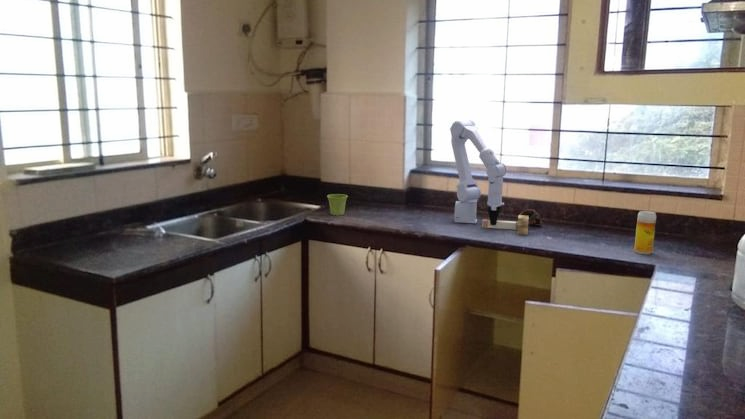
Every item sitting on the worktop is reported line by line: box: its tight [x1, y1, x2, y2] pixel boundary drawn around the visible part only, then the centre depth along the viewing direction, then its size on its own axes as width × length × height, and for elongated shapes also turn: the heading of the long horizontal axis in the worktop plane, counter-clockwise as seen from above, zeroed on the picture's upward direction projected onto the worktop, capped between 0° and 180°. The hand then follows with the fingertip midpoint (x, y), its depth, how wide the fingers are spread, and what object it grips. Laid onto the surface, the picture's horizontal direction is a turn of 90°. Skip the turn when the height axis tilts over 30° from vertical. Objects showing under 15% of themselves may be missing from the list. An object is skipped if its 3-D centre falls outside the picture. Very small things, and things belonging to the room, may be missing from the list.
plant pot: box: [326, 193, 349, 216], centre depth 276 cm, size 9×9×9 cm
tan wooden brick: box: [516, 214, 529, 236], centre depth 246 cm, size 4×7×6 cm, turn 166°
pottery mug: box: [519, 208, 543, 228], centre depth 260 cm, size 12×10×8 cm
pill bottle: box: [633, 210, 657, 255], centre depth 217 cm, size 6×6×15 cm
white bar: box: [481, 219, 518, 231], centre depth 254 cm, size 15×3×3 cm, turn 77°
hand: (493, 224), depth 255 cm, fingers closed on white bar, 3 cm apart
